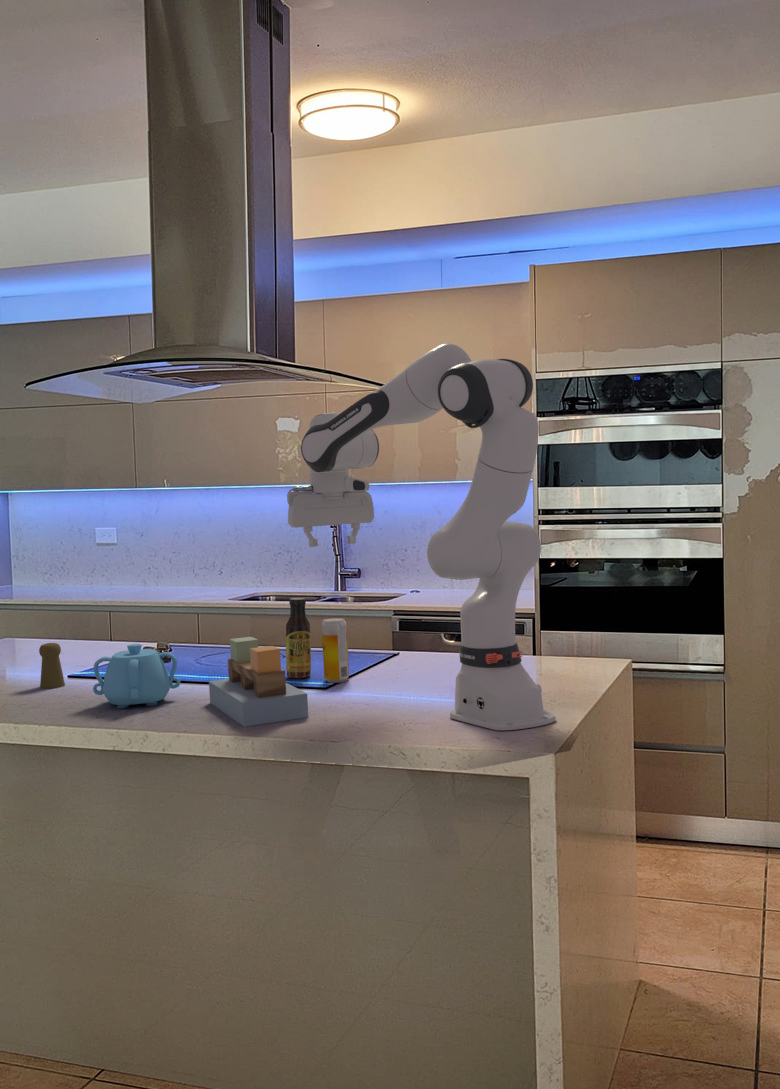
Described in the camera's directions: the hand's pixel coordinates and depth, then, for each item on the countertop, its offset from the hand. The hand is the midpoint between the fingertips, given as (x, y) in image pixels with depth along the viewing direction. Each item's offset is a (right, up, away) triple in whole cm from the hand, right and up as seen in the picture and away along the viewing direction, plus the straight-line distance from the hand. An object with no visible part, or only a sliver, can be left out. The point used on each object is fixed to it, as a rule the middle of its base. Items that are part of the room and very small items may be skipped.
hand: (332, 545), depth 233 cm
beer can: (0, -33, +15) cm, 37 cm away
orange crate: (-13, -26, -20) cm, 35 cm away
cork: (-72, -36, +24) cm, 84 cm away
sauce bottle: (-10, -33, +22) cm, 41 cm away
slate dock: (-16, -36, -12) cm, 41 cm away
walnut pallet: (-16, -31, -12) cm, 37 cm away
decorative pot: (-45, -37, +1) cm, 58 cm away
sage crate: (-19, -26, -6) cm, 33 cm away
